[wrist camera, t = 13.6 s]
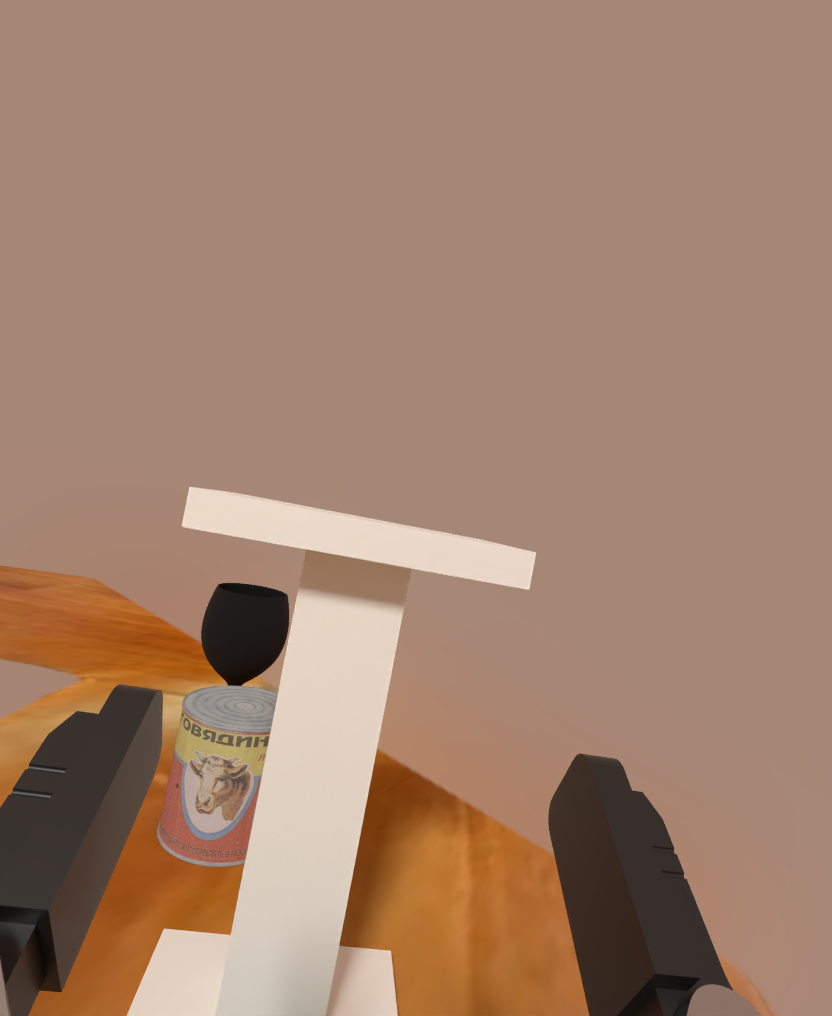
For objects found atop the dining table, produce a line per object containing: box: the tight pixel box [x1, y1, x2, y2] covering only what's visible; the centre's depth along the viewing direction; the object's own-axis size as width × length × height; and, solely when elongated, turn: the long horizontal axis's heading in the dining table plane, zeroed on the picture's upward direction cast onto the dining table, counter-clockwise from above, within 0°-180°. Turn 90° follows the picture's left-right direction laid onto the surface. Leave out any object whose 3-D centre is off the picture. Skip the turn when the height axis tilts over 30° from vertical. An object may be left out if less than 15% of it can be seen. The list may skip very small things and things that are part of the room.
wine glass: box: [201, 583, 289, 686], centre depth 72 cm, size 10×10×20 cm
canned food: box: [157, 686, 278, 867], centre depth 55 cm, size 11×11×12 cm
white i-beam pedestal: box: [127, 487, 536, 1016], centre depth 35 cm, size 12×18×32 cm, turn 97°
